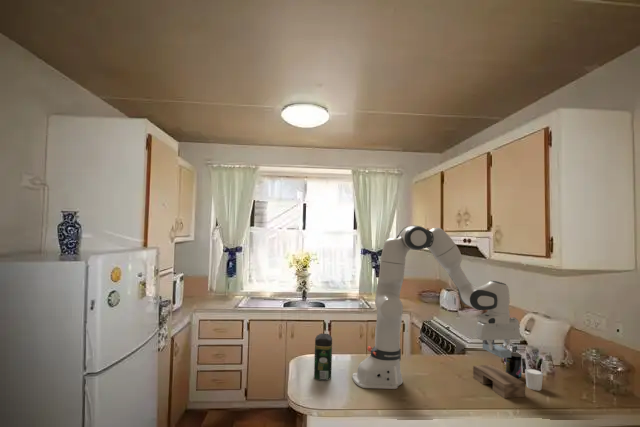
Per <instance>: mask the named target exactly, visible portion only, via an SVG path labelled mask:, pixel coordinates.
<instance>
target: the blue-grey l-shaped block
mask: <svg viewBox="0 0 640 427" xmlns="http://www.w3.org/2000/svg"><path fill="white" fill-rule="evenodd" d="M491 343H492V345H493V346H495V350H490V349H489V344H488V342H487V340H482V349H483V350H485V351H487V352H489V353H491V354H493V355H495V356H497V357H498V358H501V359H504V358H505V359H506V358H508V357H511V352H512V351H511V350H509V349H508V348H507V349H505V348H503V347H502V345H498V344H496V343H495V340H493V342H491Z"/></svg>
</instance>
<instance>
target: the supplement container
mask: <svg viewBox="0 0 640 427" xmlns="http://www.w3.org/2000/svg"><path fill="white" fill-rule="evenodd" d="M522 360H523V357H522V354H521V353H518V352H514V351H511V357H508V358H505V372H506V373H508V374H510V375H511V376H513V377H515V378H517V379H519V380H521V378H522V373H523V372H522V370H523V369H522V367H523V366H522V364H523V363H522Z"/></svg>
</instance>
